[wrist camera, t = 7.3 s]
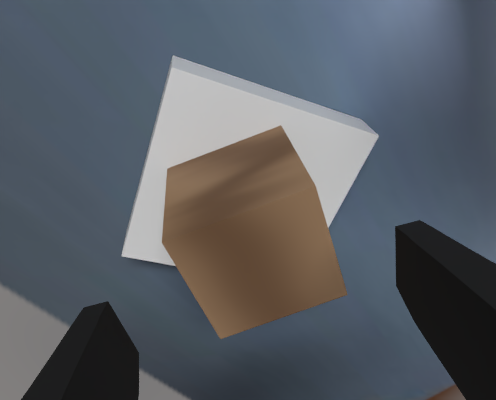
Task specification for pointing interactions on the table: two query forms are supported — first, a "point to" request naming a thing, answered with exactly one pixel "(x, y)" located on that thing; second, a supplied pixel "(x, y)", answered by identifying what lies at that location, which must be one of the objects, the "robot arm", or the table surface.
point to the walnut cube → (250, 233)
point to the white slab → (231, 131)
